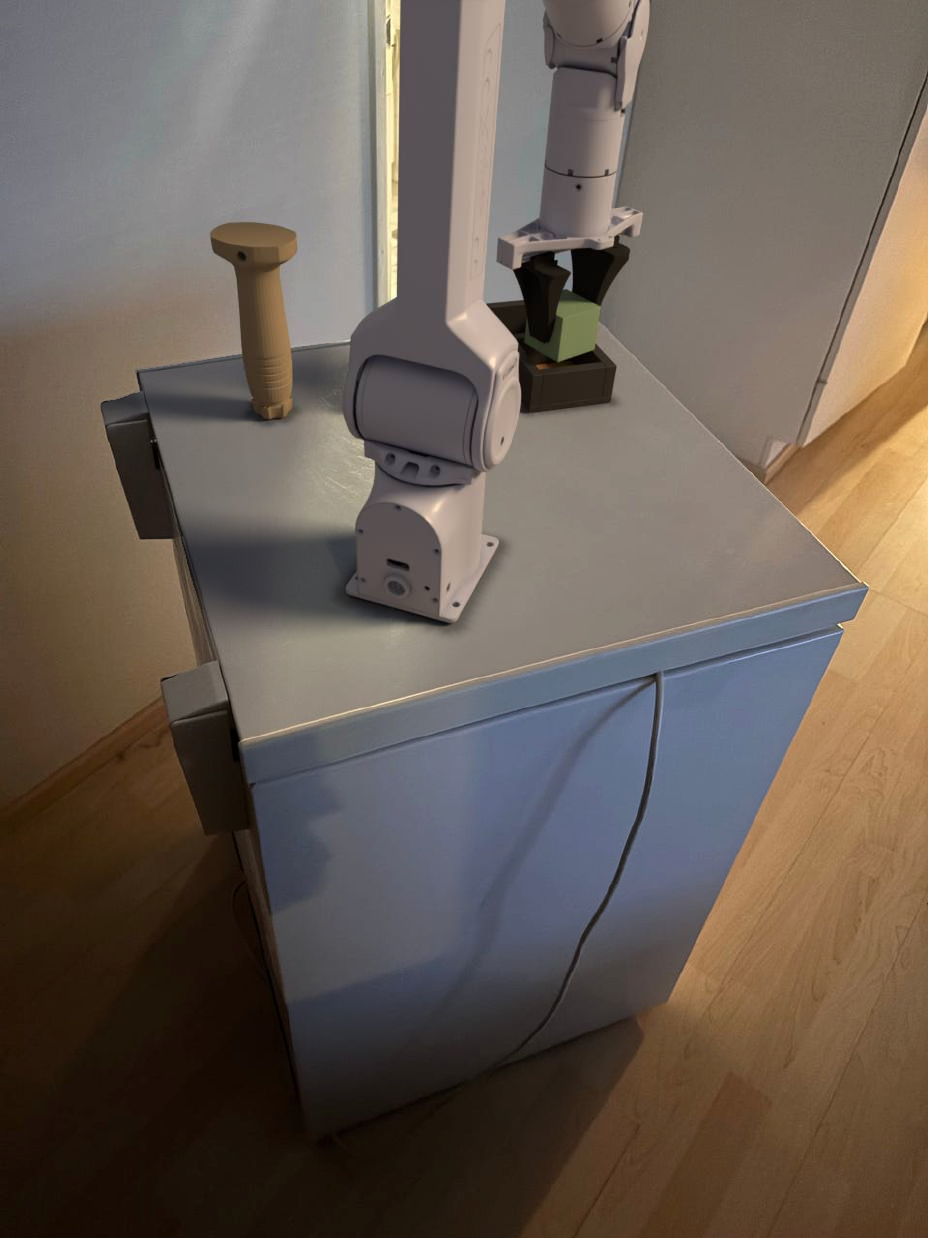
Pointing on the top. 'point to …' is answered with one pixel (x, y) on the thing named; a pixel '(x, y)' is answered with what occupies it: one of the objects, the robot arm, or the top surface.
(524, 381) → the holder
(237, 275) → the handle
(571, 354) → the green cube
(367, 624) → the top surface
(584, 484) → the top surface
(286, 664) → the top surface
